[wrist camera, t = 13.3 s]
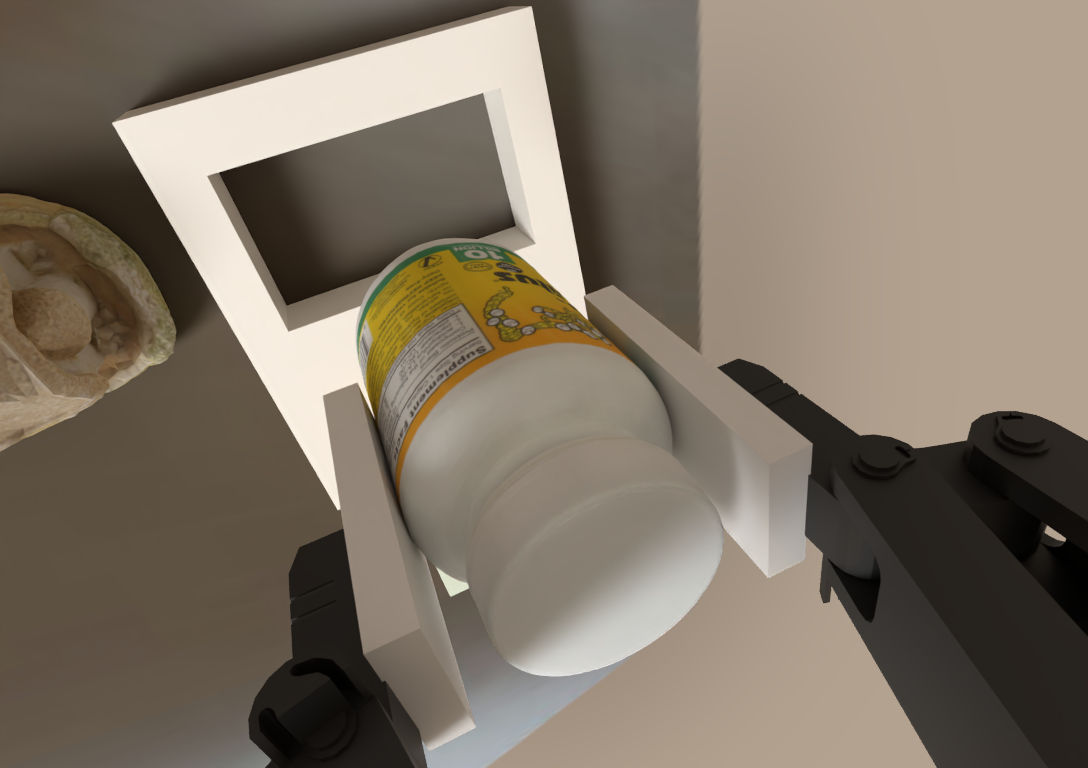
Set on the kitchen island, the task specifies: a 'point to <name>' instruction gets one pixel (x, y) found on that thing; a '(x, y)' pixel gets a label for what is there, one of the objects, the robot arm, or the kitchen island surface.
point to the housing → (327, 112)
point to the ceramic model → (69, 315)
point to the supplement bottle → (531, 458)
